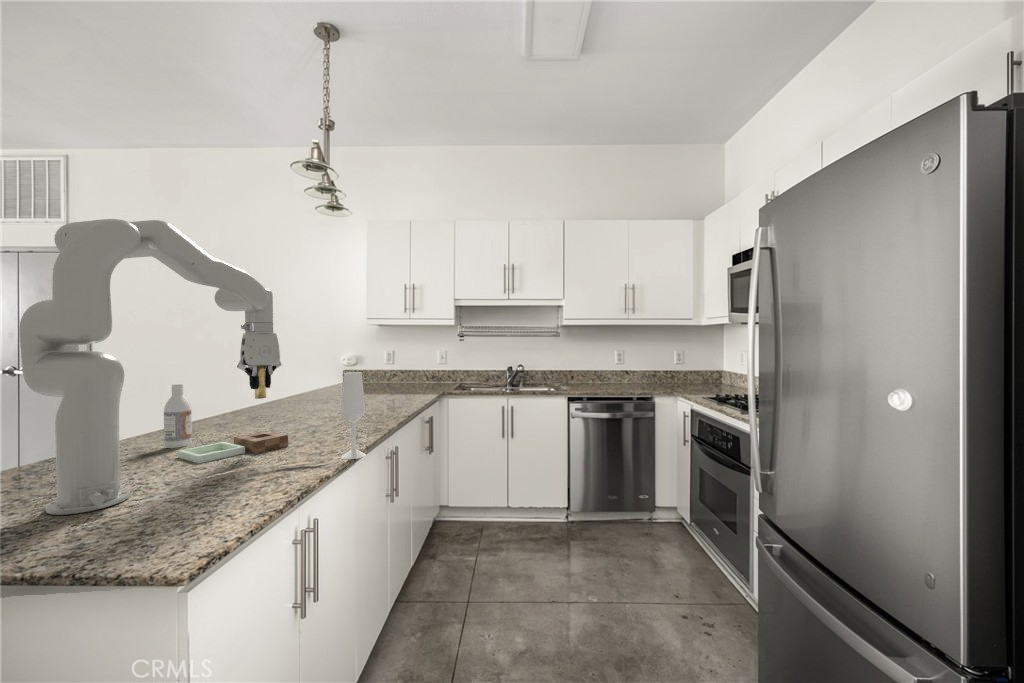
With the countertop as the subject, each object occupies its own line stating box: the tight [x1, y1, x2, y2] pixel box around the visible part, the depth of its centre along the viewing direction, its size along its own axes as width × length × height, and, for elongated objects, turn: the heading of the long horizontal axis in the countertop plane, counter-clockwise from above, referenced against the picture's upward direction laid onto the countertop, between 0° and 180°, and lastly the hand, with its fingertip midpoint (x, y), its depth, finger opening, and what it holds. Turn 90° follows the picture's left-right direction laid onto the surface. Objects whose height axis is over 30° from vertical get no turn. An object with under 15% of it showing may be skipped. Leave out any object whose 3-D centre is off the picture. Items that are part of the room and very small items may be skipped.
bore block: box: [233, 430, 289, 454], centre depth 136 cm, size 12×10×4 cm
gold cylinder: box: [254, 365, 267, 400], centre depth 136 cm, size 3×3×12 cm
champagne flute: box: [340, 371, 367, 460], centre depth 127 cm, size 7×7×24 cm
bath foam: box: [163, 383, 193, 449], centre depth 139 cm, size 7×7×20 cm
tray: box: [177, 441, 246, 464], centre depth 127 cm, size 12×12×2 cm
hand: (260, 387), depth 136 cm, fingers closed on gold cylinder, 3 cm apart
